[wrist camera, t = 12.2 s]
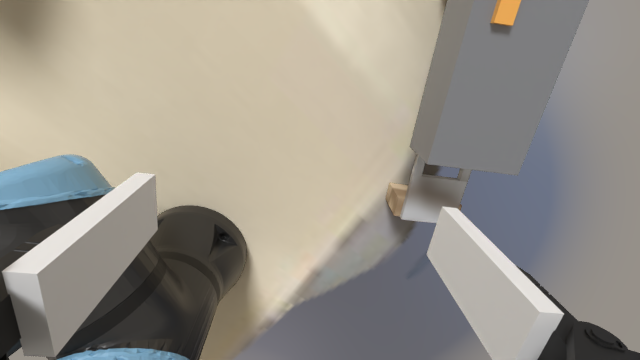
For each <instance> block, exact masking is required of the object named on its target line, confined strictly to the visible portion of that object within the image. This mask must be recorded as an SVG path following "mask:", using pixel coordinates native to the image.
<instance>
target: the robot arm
mask: <svg viewBox="0 0 640 360" xmlns="http://www.w3.org/2000/svg"><path fill="white" fill-rule="evenodd" d="M427 256H428V258H429V259H430V261H431V262H432V264H433V266H434V267H435V269H436V270H437V272H438V274H439V275H440V277H441V278H442V280H443V282H444V283H445V285H446V286H447V288H448V289H449V291H450V293H451V294H452V296H453V298H454V299H455V301H456V302H457V304H458V306H459V307H460V309H461V310H462V312H463V313H464V315H465V317H466V318H467V320H468V321H469V323H470V325H471V326H472V328H473V329H474V331H475V333H476V334H477V336H478V337H479V339H480V340H481V342H482V344H483V345H484V347H485V348H486V350H487V352H488V353H489V355H490V357H491V358H492V360H640V353H637V352H634V351H631V350H628V349H627V347H626V346H625V345H624V344H623V343H622V342H621V341H620V340H619V339H618V338H617V337H615V336H614V335H613V334H611V333H610V332H608V331H606V330H605V329H603V328H601V327H599V326H596V325H594V324H591V323H588V322H582V321H577V319H575V318H574V317H573V316H572V315H571V314H570V313H569V312H568V311H567V310H566V309H565V308H564V307H563V306H562V305H561V304H560V303H559V302H558V301H557V300H556V299H555V298H554V297H553V296H552V295H549V294H548V292H547V291H546V290H545V289H544V288H543V287H542V286H540V284H539V283H538V282H537V281H536V280H535V279H534V278H533V277H532V276H531V275H530V274H528V273H527V272H525V271H524V270H522V269H521V268H519V267H518V266H515V265H514V264H513V263H512V262H511V261H510V260H509V259H508V258H507V257H506V256H505V255H504V254H503V253H502V252H501V251H500V250H499V249H498V248H497V247H496V246H495V245H494V244H493V243H492V242H491V241H490V240H489V239H488V238H487V237H486V236H485V235H484V234H483V233H482V232H481V231H480V230H479V229H478V228H477V227H476V226H475V225H474V224H473V223H471V221H470V220H468V219H467V217H466V216H465V215H464V214H463V213H462V212H460V210H459V209H458V208H451V207H442V208H441V211H440V215H439V218H438V221H437V224H436V227H435V230H434V233H433V237H432V239H431V243H430V246H429V249H428V252H427ZM246 257H247V249H246V244H245V241H244V238H243V236H242V234H241V232H240V231H239V229H238V228H237V227H236V226H235V225H234V224H233V223H232V222H231V221H230V220H229V219H228V218H226V217H225V216H223V215H222V214H220V213H218V212H216V211H213V210H211V209H208V208H204V207H200V206H179V207H175V208H171V209H169V210H166V211H164V212H163V213H161V214H159V215H158V216H157V202H156V179H155V174H147V173H138V172H136V173H135V174H134V175H132V176H131V177H130V178H128V179H127V180H126V181H124V182H123V183H121V184H120V185H119V186H117V187H116V188H114V187H111V185H110V184H109V183H108V182H107V181H106V179H105V178H104V177H103V176H102V174H101V173H100V172H99V171H98V169H97V168H96V167H95V166H94V165H93V163H92V162H91V161H89V160H88V159H86V158H84V157H82V156H78V155H61V156H56V157H52V158H48V159H44V160H41V161H37V162H33V163H30V164H26V165H23V166H19V167H16V168H12V169H9V170H5V171H2V172H0V360H9V358H8V357H9V356H10V355H11V354H13V353H14V352H16V351H17V350H18V349H19V348H21V347H22V349H23V353H24V356H42V357H46V358H48V360H199V358H200V355H201V352H202V349H203V346H204V343H205V340H206V337H207V334H208V331H209V329H210V326H211V323H212V320H213V317H214V314H215V311H216V308H217V305H218V303H219V301H220V300H221V299H222V298H223V297H224V296H225V294H226V293H227V292H228V291H229V290H230V289H231V288H232V287H233V286H234V285H235V284H236V282H237V281H238V279H239V278H240V276H241V274H242V271H243V268H244V265H245V262H246Z"/></svg>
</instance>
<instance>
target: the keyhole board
mask: <svg viewBox="0 0 640 360" xmlns="http://www.w3.org/2000/svg"><path fill="white" fill-rule="evenodd" d="M424 166H425V161H424V160H423V159H422V158H421V157H420V156H419V155H418V154H416V158H415V162H414V166H413V169H412V173H411V177H410V181H409V184H408V185H404V184H395V183H389V187H388V191H387V195H386V200H387V202H388V204H389V207H390V209H391V211H392V213H393V215H394V216H400V217H401V219H402V220H411V221H420V222H430V223H437V221H438V218H439V215H440V211H441V208H442V207H451V208H458V209H459V210H461V207H462V205H461V204H460V203H461V200H462V197H463V194H464V191H465V188H466V185H467V182H468V179H469V177H470V174H471V171H472V170H470V169H462V168H460V171H459V174H458V177H457V178H449V177H441V176H433V175H425V174H422V173H423V169H424Z"/></svg>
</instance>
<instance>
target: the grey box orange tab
mask: <svg viewBox="0 0 640 360" xmlns="http://www.w3.org/2000/svg"><path fill="white" fill-rule="evenodd" d="M588 2H589V0H447V3H446V7H445V11H444V15H443V19H442V23H441V27H440V31H439V34H438V38H437V42H436V46H435V50H434V54H433V58H432V62H431V66H430V70H429V73H428V77H427V81H426V85H425V89H424V93H423V97H422V101H421V105H420V109H419V112H418V116H417V120H416V124H415V128H414V132H413V136H412V140H411V144H410V147H411V148H412V149H413V150H414V151H415V152H416V153H417V154H418V155H419V156H420V157H421V158H422V159H423V160H424V161H425V162H426V163H427V164H430V165H438V166H446V167H454V168H462V169H470V170H478V171H486V172H494V173H502V174H510V175H518V174H519V171H520V169H521V166H522V164H523V161H524V159H525V157H526V154H527V152H528V149H529V147H530V144H531V142H532V139H533V137H534V134H535V132H536V129H537V127H538V125H539V122H540V119H541V117H542V115H543V112H544V110H545V107H546V105H547V103H548V100H549V98H550V95H551V93H552V90H553V88H554V85H555V83H556V80H557V78H558V75H559V73H560V71H561V68H562V66H563V63H564V61H565V58H566V56H567V53H568V51H569V48H570V46H571V44H572V41H573V39H574V36H575V34H576V31H577V29H578V26H579V24H580V21H581V19H582V17H583V14H584V11H585V9H586V7H587V4H588Z"/></svg>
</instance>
